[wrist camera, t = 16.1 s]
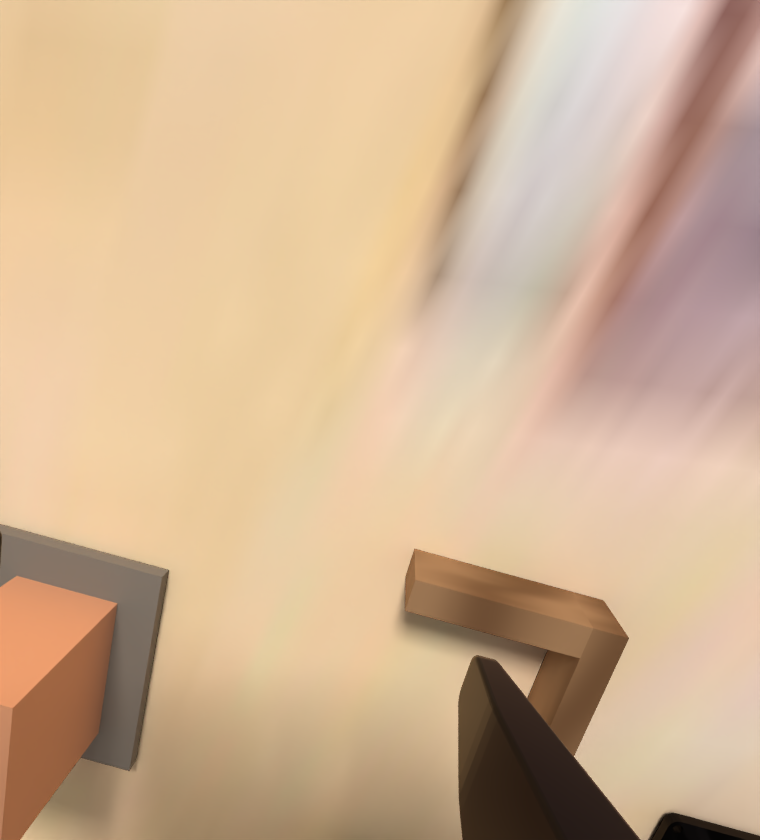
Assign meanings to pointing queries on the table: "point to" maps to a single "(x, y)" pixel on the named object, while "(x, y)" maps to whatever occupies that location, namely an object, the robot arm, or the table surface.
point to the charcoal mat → (133, 628)
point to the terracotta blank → (47, 691)
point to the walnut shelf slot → (528, 632)
